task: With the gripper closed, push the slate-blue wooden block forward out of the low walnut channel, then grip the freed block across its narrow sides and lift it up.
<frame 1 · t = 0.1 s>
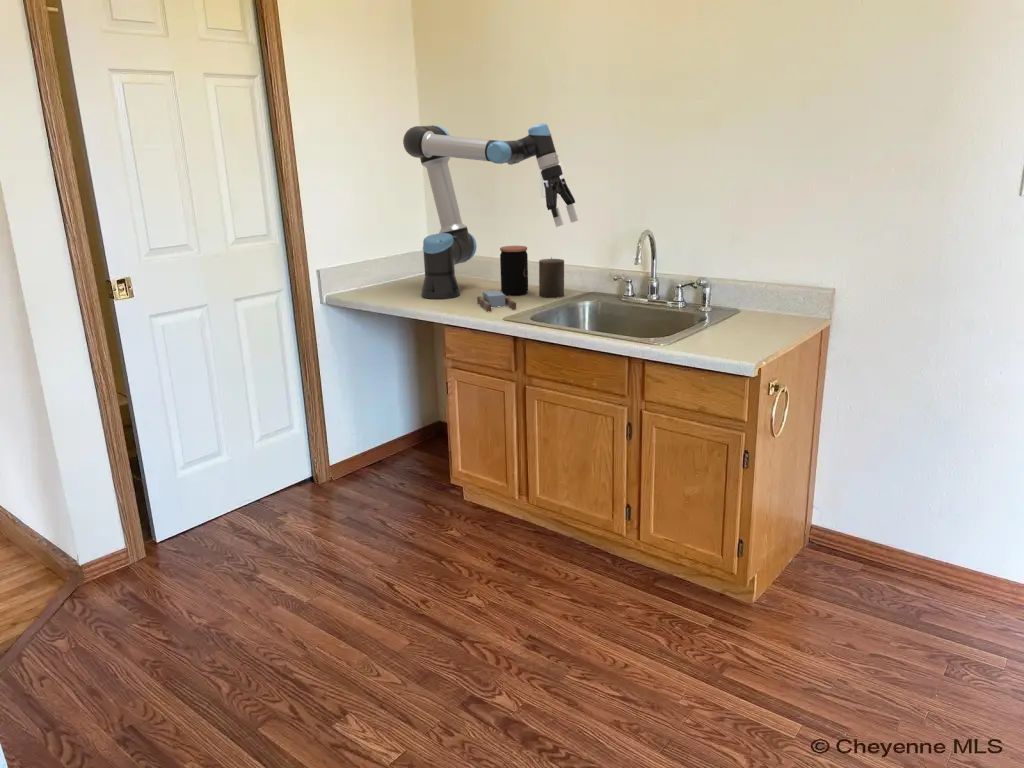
hand: (567, 223, 291), 28 cm above the worktop, tool tilted 20°, fingers open, 13 cm apart
walnut channel: (496, 306, 289), on the worktop
coffee jar: (514, 293, 310), on the worktop
slate block: (494, 305, 291), on the worktop
pillar candle: (551, 296, 304), on the worktop
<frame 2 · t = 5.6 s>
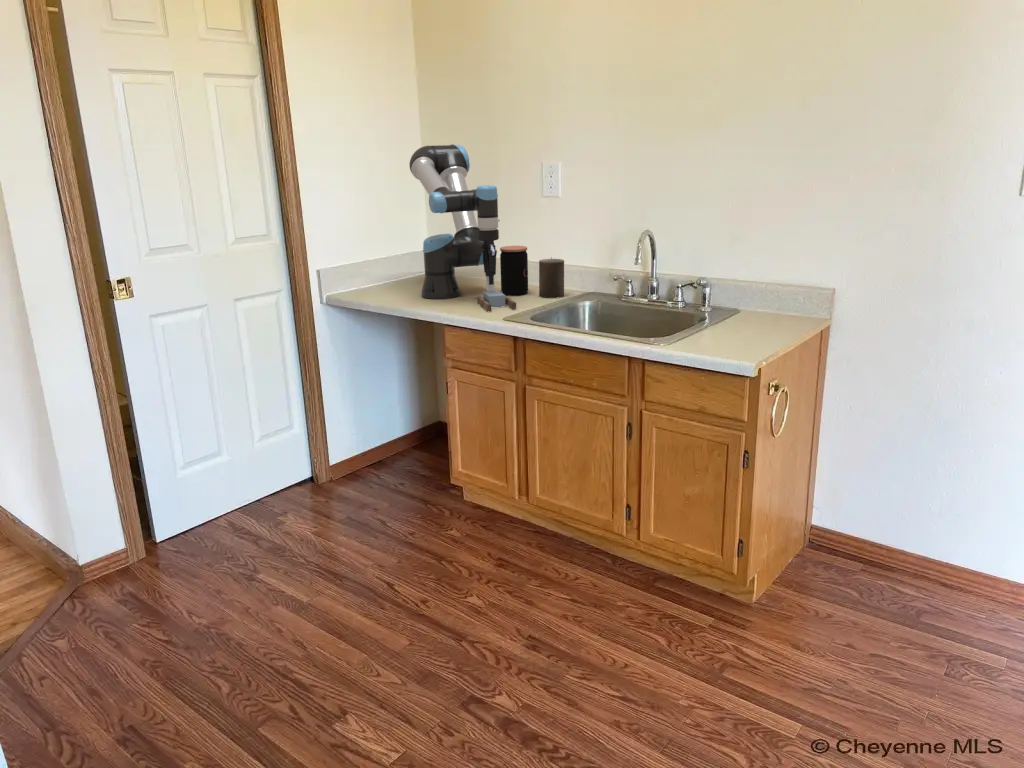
hand: (490, 292, 295), 4 cm above the worktop, tool pointing down, fingers closed
slate block: (494, 305, 291), on the worktop, touching gripper
everything else where it was.
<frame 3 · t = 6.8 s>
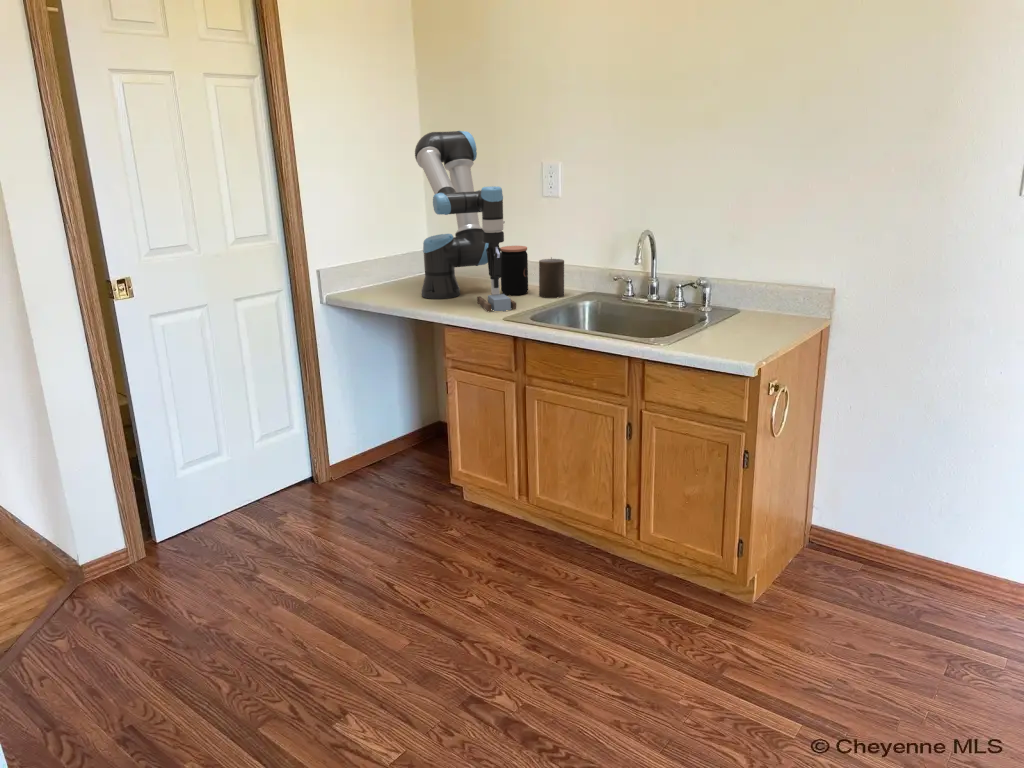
hand: (495, 296, 288), 4 cm above the worktop, tool pointing down, fingers closed
slate block: (499, 309, 285), on the worktop, touching gripper
everything else where it was.
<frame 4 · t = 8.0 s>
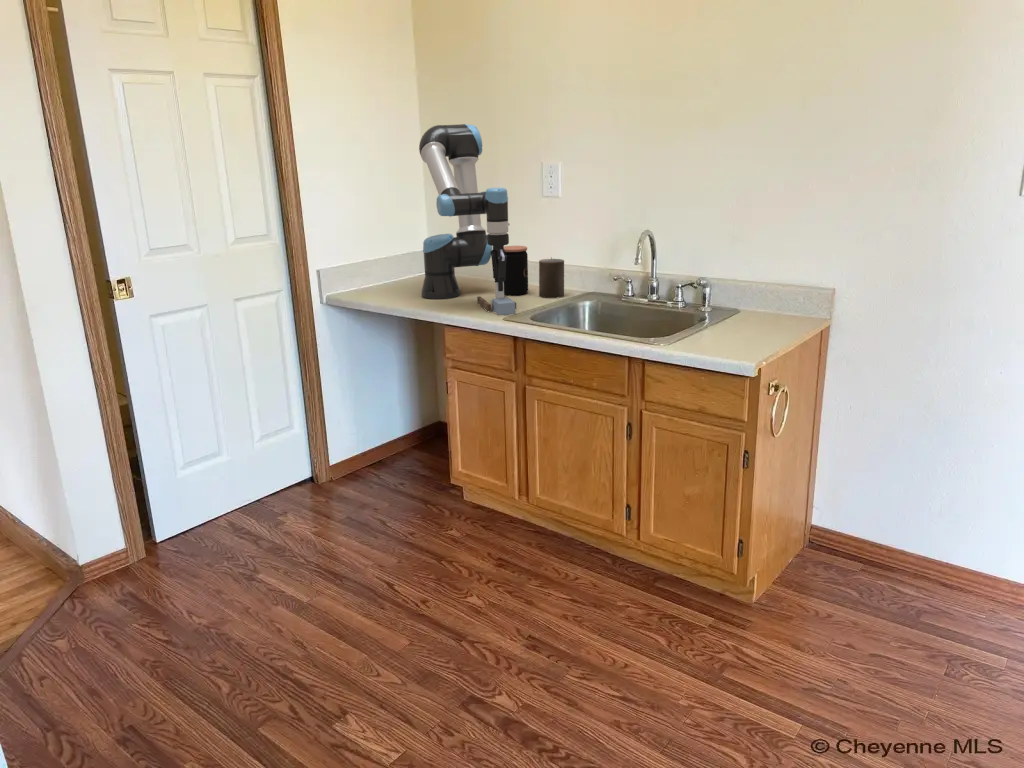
hand: (500, 299, 283), 4 cm above the worktop, tool pointing down, fingers closed
slate block: (503, 312, 279), on the worktop, touching gripper
everything else where it was.
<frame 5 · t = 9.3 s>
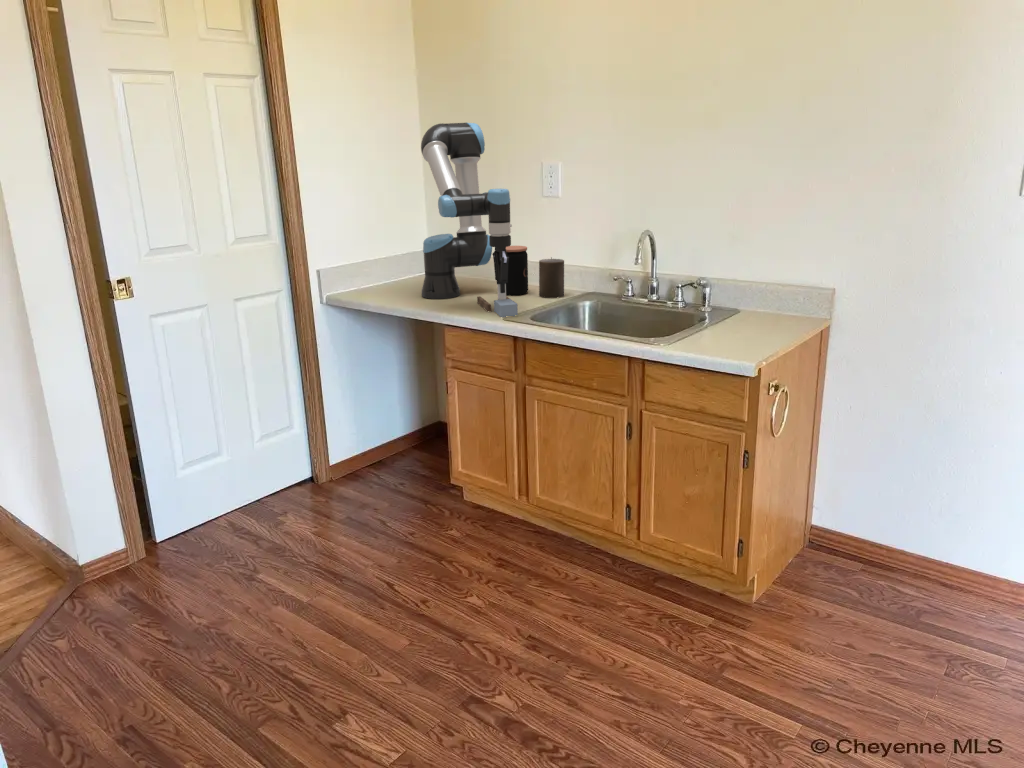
hand: (502, 301, 280), 3 cm above the worktop, tool pointing down, fingers closed
slate block: (505, 314, 277), on the worktop
everything else where it was.
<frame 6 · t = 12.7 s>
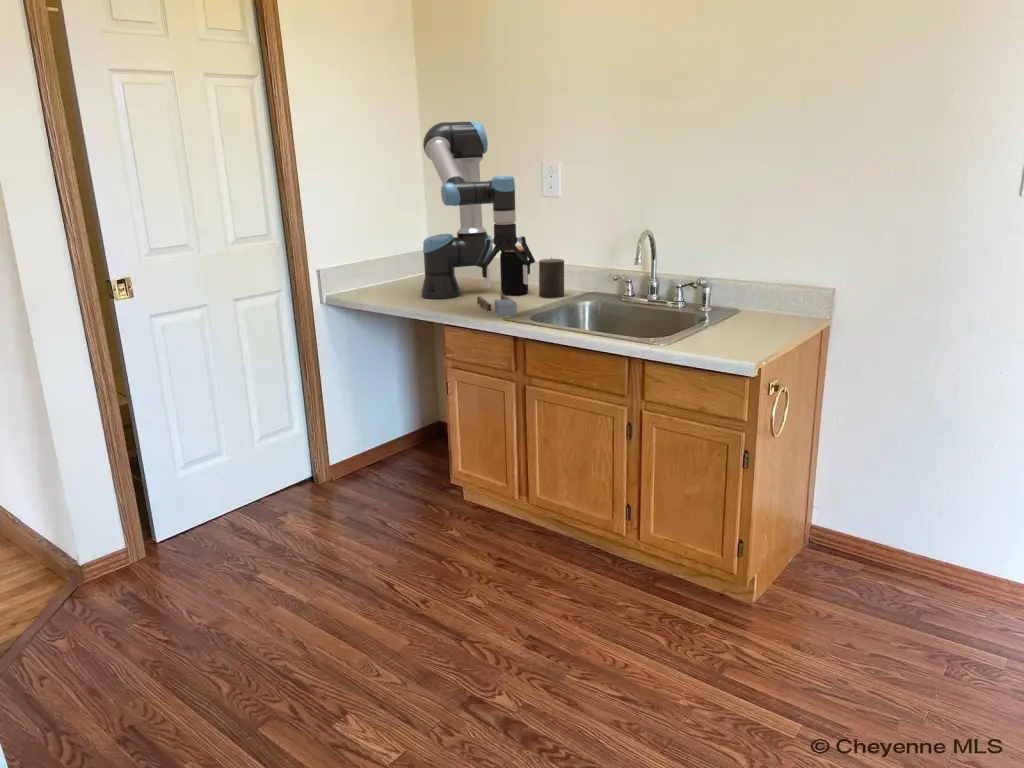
hand: (506, 285, 272), 10 cm above the worktop, tool pointing down, fingers open, 13 cm apart
nothing on the worktop moved.
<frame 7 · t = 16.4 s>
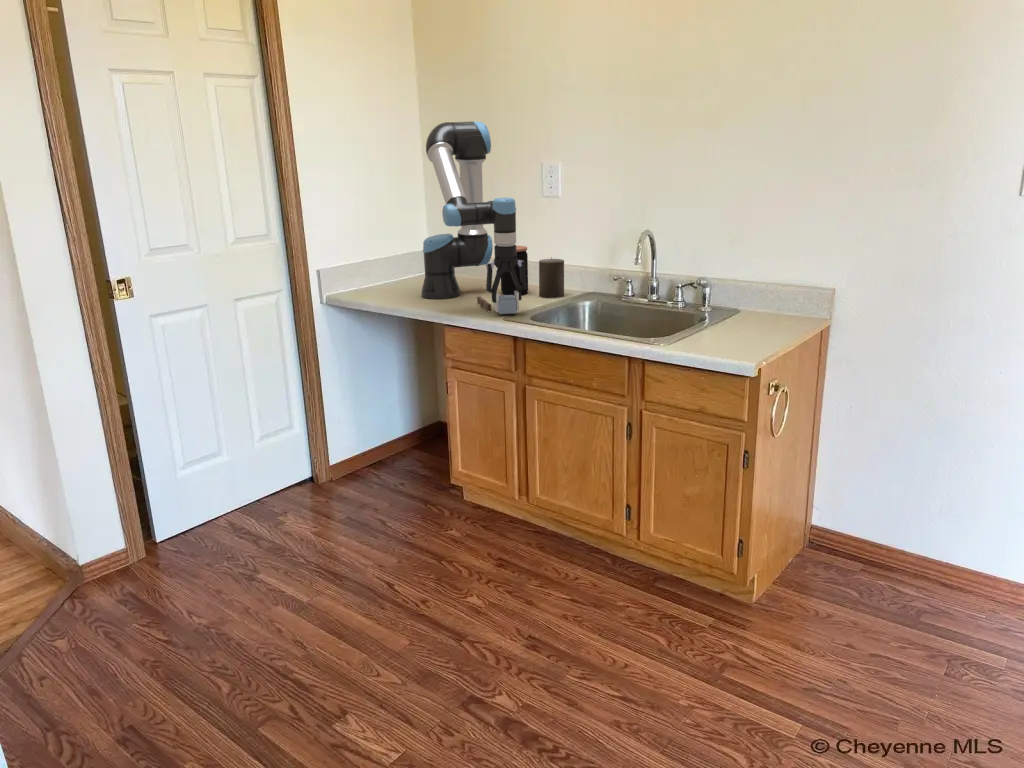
hand: (506, 310, 275), 1 cm above the worktop, tool pointing down, fingers closed on slate block, 7 cm apart
slate block: (506, 310, 277), point 1 cm above the worktop, touching gripper
everything else where it was.
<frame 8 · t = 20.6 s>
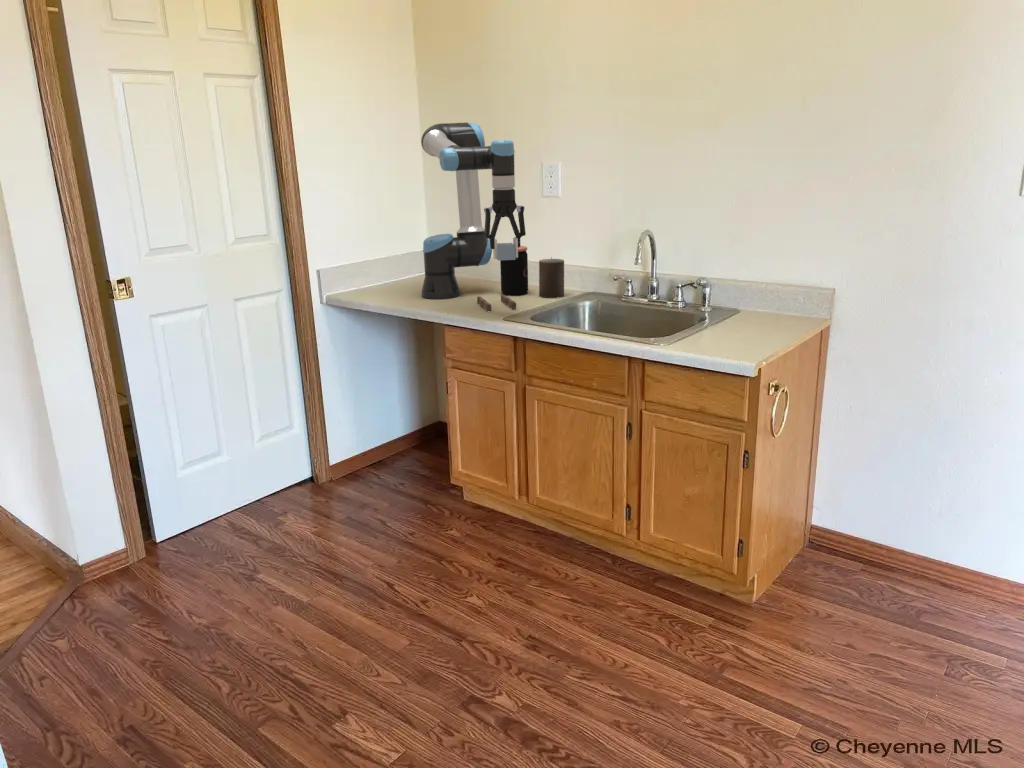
hand: (505, 257, 269), 20 cm above the worktop, tool pointing down, fingers closed on slate block, 7 cm apart
slate block: (505, 258, 271), point 20 cm above the worktop, touching gripper
everything else where it was.
at the end: the gripper is holding slate block; slate block inside the target area (1.4 cm from its centre), point 19.6 cm above the worktop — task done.
